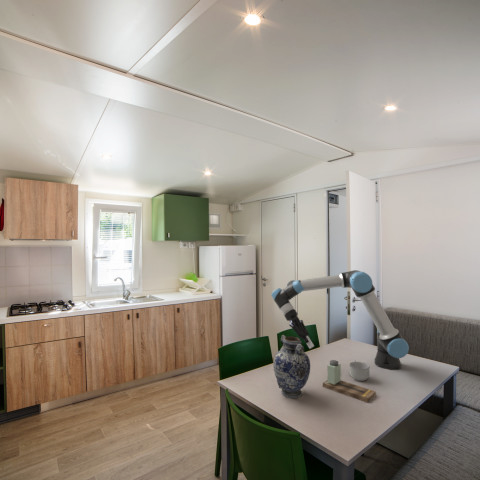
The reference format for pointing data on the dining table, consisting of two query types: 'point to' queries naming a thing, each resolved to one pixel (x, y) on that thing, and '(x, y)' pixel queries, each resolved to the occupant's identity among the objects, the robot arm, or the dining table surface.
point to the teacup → (359, 370)
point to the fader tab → (334, 372)
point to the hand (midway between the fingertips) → (312, 347)
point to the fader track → (351, 390)
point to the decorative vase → (291, 367)
